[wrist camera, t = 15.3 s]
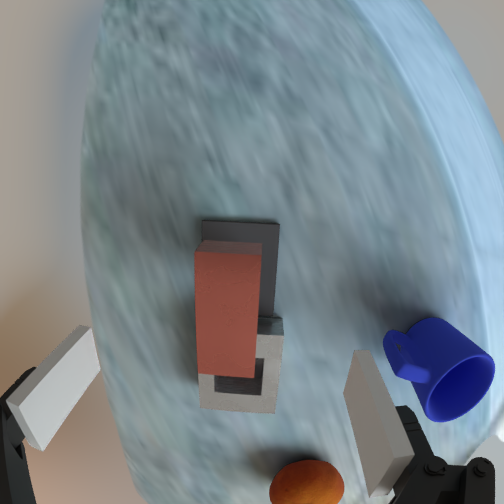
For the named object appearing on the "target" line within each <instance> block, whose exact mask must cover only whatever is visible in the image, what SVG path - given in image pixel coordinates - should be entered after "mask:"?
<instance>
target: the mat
mask: <svg viewBox="0 0 504 504" xmlns="http://www.w3.org/2000/svg"><path fill="white" fill-rule="evenodd" d="M279 229H280V224H272V223H255V222H236V221H215V220H203V221H202V242H203V241H204V240H212V241H231V242H250V243H262V256H261V274H260V291H259V308H258V315H259V316H273V310H274V297H275V284H276V271H277V258H278V244H279Z"/></svg>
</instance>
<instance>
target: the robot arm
mask: <svg viewBox="0 0 504 504" xmlns="http://www.w3.org/2000/svg"><path fill="white" fill-rule="evenodd" d="M100 370H101V369H100V365H99V361H98V357H97V352H96V348H95V344H94V339H93V334H92V329H91V327H87V326H82V325H79V326H78V327H77V328H76V329H75V330H74V331H73V332H72V333H71V334H70V335H69V336H68V337H67V338H66V339H65V340H64V341H63V342H62V343H61V344H59V346H57V348H55V350H53V351H52V353H51V354H50V355H49V356H48V357H47V358H46V359H45V360H44V361H43V362H42V363H41V364H40V365H39V366H38V367H37V368H36V367H32V368H31V369H29V370H27V371H25V372H24V373H23V374H22V375H21V376H20V378H19V379H17V380H16V381H15V384H13V385H12V386H11V387H10V388H9V389H8V390H7V391H6V392H5V393H4V394H3V395H2V396H1V398H0V504H36V500H35V496H34V493H33V488H32V484H31V480H30V475H29V470H28V465H27V460H26V454H25V448H24V445H23V443H22V441H23V439H24V438H26V440H27V441H28V443H29V444H30V446H32V447H34V448H36V449H38V450H40V451H44V449H45V448H46V446H47V445H48V443H49V442H50V440H51V439H52V437H53V436H54V434H55V433H56V431H57V430H58V429H59V427H60V426H61V424H62V423H63V421H64V420H65V418H66V417H67V415H68V414H69V413H70V411H71V410H72V408H73V407H74V406H75V404H76V403H77V401H78V400H79V399H80V397H81V396H82V394H83V393H84V392H85V390H86V389H87V387H88V386H89V385H90V383H91V382H92V380H93V379H94V378H95V376H96V375H97V373H98V372H99V371H100ZM343 394H344V398H345V402H346V405H347V409H348V413H349V417H350V420H351V424H352V428H353V432H354V436H355V440H356V444H357V448H358V452H359V456H360V460H361V464H362V468H363V473H364V477H365V481H366V486H367V490H368V494H369V498H372V497H378V496H385V495H388V494H389V492H390V491H391V490H392V488H393V489H394V493H395V496H394V497H393V499H392V500H391V501H390V503H389V504H495V469H494V465H493V464H492V463H491V461H489V460H488V459H486V458H482V457H477V458H474V459H472V460H471V461H470V462H469V463H468V464H467V466H458V465H448V464H447V463H446V462H445V460H444V459H442V458H440V457H438V456H434V454H433V452H432V450H431V447H430V445H429V443H428V441H427V439H426V436H425V434H424V432H423V430H422V428H421V426H420V424H419V423H418V419H417V417H416V415H415V413H414V412H413V411H412V410H411V409H410V408H409V407H408V406H407V405H405V406H396V407H395V406H394V404H393V401H392V399H391V397H390V394H389V392H388V390H387V388H386V386H385V383H384V381H383V379H382V377H381V374H380V372H379V370H378V368H377V366H376V364H375V361H374V359H373V357H372V355H371V353H370V351H369V350H354V354H353V358H352V362H351V366H350V370H349V374H348V378H347V381H346V385H345V389H344V392H343Z"/></svg>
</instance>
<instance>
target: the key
mask: <svg viewBox="0 0 504 504" xmlns="http://www.w3.org/2000/svg"><path fill="white" fill-rule="evenodd" d="M261 256H262V243H250V242H231V241H212V240H204V241H203V242H202V243H201V244H200V245H199V247H198V248H197V249H196V250H195V313H196V342H197V364H198V373H199V374H209V375H220V376H232V377H245V378H254V372H255V356H256V340H257V324H258V308H259V291H260V274H261Z"/></svg>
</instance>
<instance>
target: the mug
mask: <svg viewBox="0 0 504 504" xmlns="http://www.w3.org/2000/svg"><path fill="white" fill-rule="evenodd" d="M395 343H397V344H399V345H401V349H400V351H399V349H398V347H397V346H396V344H395ZM383 347H384V350H385V353H386V356H387V358H388V361H389V363H390V365H391V367H392V370H393V372H394V374H395V375H396V376H397V377H400V378H403V379H406V380H409V381H411V383H412V385H413V387H414V389H415V392H416V394H417V396H418V399H419V401H420V403H421V406H422V408H423V410H424V413H425V415H426V416H427V417H428V418H429V419H430V420H432V421H434V422H447V421H451V420H454V419H456V418H458V417H460V416H462V415H464V414H465V413H467V412H468V411H470V410H471V409H472V408H473V407H474V406H475V405H477V404H478V402H479V401H480V400H481V399H482V398H483V397H484V395H485V394H486V392H487V391H488V389H489V387H490V385H491V383H492V381H493V378H494V373H495V364H494V361H493V359H492V357H491V356H490V355H489V354H487V353H486V352H485V351H484V350H482V349H481V348H480V347H479V346H477V345H476V344H475V343H474V342H472V341H471V340H470V339H469V338H467V337H466V336H465V335H463V334H462V333H461V332H460V331H458V330H457V329H456V328H454V327H453V326H452V325H451V324H449V323H448V322H446V321H445V320H443V319H440V318H426V319H423V320H421V321H419V322H418V323H416V324H415V325H414V326H412V327H411V328H410V330H409V331H408V332H407V333H406V335H405V334H403V333H401V332H399V331H396V330H390V331H388V332H387V333H386V335H385V337H384V339H383Z"/></svg>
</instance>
